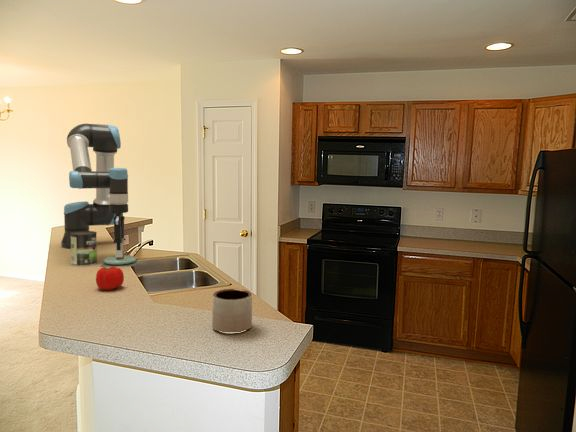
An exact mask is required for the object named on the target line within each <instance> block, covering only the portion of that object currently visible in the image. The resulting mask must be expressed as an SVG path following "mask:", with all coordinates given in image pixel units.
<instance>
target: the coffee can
mask: <svg viewBox="0 0 576 432" xmlns="http://www.w3.org/2000/svg"><path fill="white" fill-rule="evenodd" d="M97 234H98V233H97V231H92V230H89V231H78V232H72V233H70V235H71V248H70V254H71V255H70V257H71V265H72V266H77V267H85V266H92V265H96V264H98V249H97V248H98V247H97V246H98V245H97V242H98V241H97Z"/></svg>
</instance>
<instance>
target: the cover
mask: <svg viewBox="0 0 576 432" xmlns="http://www.w3.org/2000/svg"><path fill="white" fill-rule="evenodd" d="M124 239H125V237H124V238H122V254H123V257H116V255H112V256H107V257H105V258H103V263H106V264H111V265H121V264H129V263H133V262H135V261H136V259H137V258H136V256H133V255H128V254H127V255H125V248H124V247H125V243H124V242H125V240H124Z"/></svg>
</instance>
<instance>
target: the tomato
mask: <svg viewBox="0 0 576 432" xmlns="http://www.w3.org/2000/svg"><path fill="white" fill-rule="evenodd" d="M124 279H125V276H124V271H123V269H122V268H120V267H115V266H113V267H100V268H99V269H98V270H97V272H96V274H95V282H96V285H97V287H98V289H100V290H103V291H105V290H106V291H111V290H114V289H118V288H120V287H121V286H122V285H123V283H124Z"/></svg>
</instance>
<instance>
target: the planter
mask: <svg viewBox="0 0 576 432" xmlns="http://www.w3.org/2000/svg"><path fill="white" fill-rule="evenodd" d="M212 293H213V294H212V310H211V311H212V312H211V313H212V315H211V316H212V317H211V318H212V319H211V325H212V326H211V327H212V329H213V328H214V329H216V330H218V331H222V332H241V331H244V330H247V329H249V328H250V327H251V328H252V325H253V293H252V292H251V291H249V290H246V289H243V288H225V289H220V290H217V291H214V292H212ZM251 328H250V329H251ZM214 329H213V330H214ZM250 329H249V330H250Z"/></svg>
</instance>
